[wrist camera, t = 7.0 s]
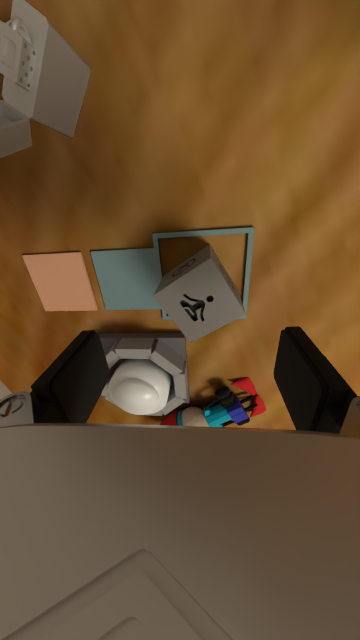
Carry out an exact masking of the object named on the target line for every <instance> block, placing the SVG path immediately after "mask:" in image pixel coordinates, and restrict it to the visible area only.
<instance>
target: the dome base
mask: <svg viewBox="0 0 360 640" xmlns="http://www.w3.org/2000/svg"><path fill="white" fill-rule="evenodd" d="M98 334H99V336H100V340H101V343H102V347H103V350H104V353H105V357H106V360H107V363H108V367H109V370H110V377H109V380H108V382H107V383H106V385H105V387H104V389H103V391H102V393H101V394H102V396H105V399H106V400H108V401H110V402H111V403H113V404H115V403H114V402H113V400H112V399H111V398H110V396H109V393H108V384H109V382H110V380H111V378H112V376H113V374H114V373H115V371H116V369H117V367H118V365H119V363H120V362H121V361H122V360H123V359H150V360H152V361H153V362H154V363H156V364H157V365H159V366H160V367H161V368H163V369H164V370H166V371H167V372H169V373H170V374H171V384H170V389H169V394H168V399H167V403H166V405H165V407H164V408H163V409H162V410H160V411H158V412H156V413H153V414H147V415H153V416H162V413H163V414H164V415H166V414H168V413H169V412H171V411H172V410H173V409H175V408H176V407H178V406H179V405H181V404H182V403H189V401H190V392H189V378H188V364H187V350H186V336H185V335H184V334H183V333H98ZM115 405H116V404H115ZM116 406H118V405H116ZM118 407H119V406H118ZM128 413H129V412H128ZM133 415H136V414H133Z"/></svg>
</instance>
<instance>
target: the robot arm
mask: <svg viewBox="0 0 360 640" xmlns="http://www.w3.org/2000/svg"><path fill="white" fill-rule="evenodd" d="M109 377H110V370H109V367H108V363H107V360H106V357H105V353H104V350H103V347H102V343H101V340H100V336H99V334H98V333H96V332H95V331H94V330H90V331H82V332H81V333H80V334H79V335H78V336H77V337H76V338H75V339H74V340H73V341H72V342H71V343H70V345H69V346H68V347H67V348H66V349H65V350H64V351H63V352H62V353H61V354H60V355H59V356H58V358H57V359H56V360H55V361H54V362H53V363H52V364H51V365H50V366H49V367H48V368H47V369H46V370H45V372H44V373H43V374H42V375H41V376H40V377H39V378H38V379H37V380H36V381H35V382H34V383H33V385H32V386H31V388H32V392H31V393H30V394H29V393H28V392H16V393H13V394H10V395H8V396H6V397H4V398H2V399H1V400H0V640H360V396H357V395H356V394H355V392H354V391H353V390H352V389H351V388H350V386H349V385H348V384H347V383H346V381H345V380H344V379H343V378H342V377H341V375H340V374H339V373H338V372H337V370H336V369H335V368H334V367H333V366H332V364H331V363H330V362H329V361H328V359H327V358H326V357H325V356H324V355H323V354H322V353H321V352H320V351H319V349H318V348H317V347H316V346H315V344H314V343H313V342H312V341H311V340H310V338H309V337H308V336H307V335H306V333H305V332H304V331H303V330H302V328H301V327H286V328H285V330H282V331H281V335H280V340H279V346H278V351H277V357H276V363H275V368H274V379H275V381H276V384H277V386H278V388H279V391H280V393H281V395H282V398H283V400H284V402H285V405H286V407H287V409H288V412H289V414H290V416H291V419H292V421H293V423H294V426H295V428H296V430H282V429H260V428H231V427H203V426H169V425H134V424H91V423H86V422H87V420H88V418H89V416H90V414H91V412H92V410H93V409H94V407H95V405H96V403H97V401H98V399H99V397H100V395H101V393H102V391H103V389H104V387H105V385H106V383H107V382H108V380H109Z"/></svg>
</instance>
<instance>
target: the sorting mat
mask: <svg viewBox="0 0 360 640" xmlns="http://www.w3.org/2000/svg"><path fill="white" fill-rule="evenodd" d="M239 233H248V241H247V254H246V266H245V279H244V292H243V307H244V310H245V312H246V313H247V302H248V291H249V280H250V269H251V258H252V247H253V236H254V227H245V228H229V229H213V230H198V231H182V232H167V233H153V234H152V237H153V245H154V248H142V249H124V250H105V251H91V256H92V260H93V264H94V267H95V271H96V275H97V278H98V282H99V286H100V289H101V293H102V297H103V301H104V304H105V308H106V310H141V309H162V315H163V320H172V319H171V318H170V316H169V315H167V313H166V311H165V310H164V309H163V308H162V306H161V305H160V304H159V303H158V301H157V300H156V299H155V298H154V296H153V295H154V293H155V291H156V289H157V287H158V285H159V284H160V282H161V280H162V269H161V261H160V252H159V243H158V238H173V237H190V236H206V235H223V234H239ZM22 257H23V259H24V262H25V264H26V266H27V269H28V271H29V273H30V276H31V278H32V280H33V283H34V285H35V287H36V290H37V292H38V294H39V297H40V299H41V301H42V304H43V306H44V308H45V311H83V310H98V308H97V304H96V301H95V297H94V294H93V291H92V287H91V284H90V280H89V277H88V273H87V270H86V266H85V263H84V260H83V256H82V253H81V252H69V253H51V254H33V255H22ZM238 319H246V315H244V316H242V317H240V318H238Z"/></svg>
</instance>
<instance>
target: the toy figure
mask: <svg viewBox="0 0 360 640" xmlns="http://www.w3.org/2000/svg"><path fill="white" fill-rule="evenodd" d="M230 385H234V386H237V387H238V388H240V389H242V390H244V391H246V392H247V393H249V394H251V396H249V397H247V398H245V399H243V400H241V401H239V399H238V398H236V399H234V395H233V393H231V392H230V390H229V388H228V387H222V388H220V389H218V390H217V391H216V392H215V395H216V397H217V398H216V399H215V398H214V399H213V400H212V401H211V402H210V403H209V404H207V405H206V406H205V407H204V411H203V410H202V409H200V408H198V407H189V408H186V409H181V410H177V411H175V412H173V413H172V414H170V415H169V416H168V417H166V418H165V419H164V420H163V421H162V422H161V424H160V425H169V426H203V427H224V426H227V425H229V424H232V423H234V422H235V424H236V423H237V425H243V424H245V423H248V422H249V421H250V419H249V417H248V415H247V413H246V411H248V410H250V409H252V413H251V415H250V417H253V416H256V415H259V414H262V413H263V412H265V411H266V408H265V406H264V403H263V401H262V399H261V398H260V397H259V396H256V390H255V387H254V385H253V384H252V382H251V380H250V378H249V377H246V378H242V379H240V380H238V381H235V382H234V383H232V384H230ZM254 396H256V397H255V400H254V404H253V405H251V406H249V407H247V408H244V407H243V405H242V403H245V402H247V401H249V400H251V399H253V398H254ZM219 399H220V402H221V403H220V404H218V405H216V406H214V407H212V408H210V409H209V406H211V405H212V404H213V403H214V402H215V401H217V400H219ZM230 419H232V420H233V421H232V420H230ZM228 420H230V421H228ZM226 421H227V422H226ZM224 422H225V423H224Z"/></svg>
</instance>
